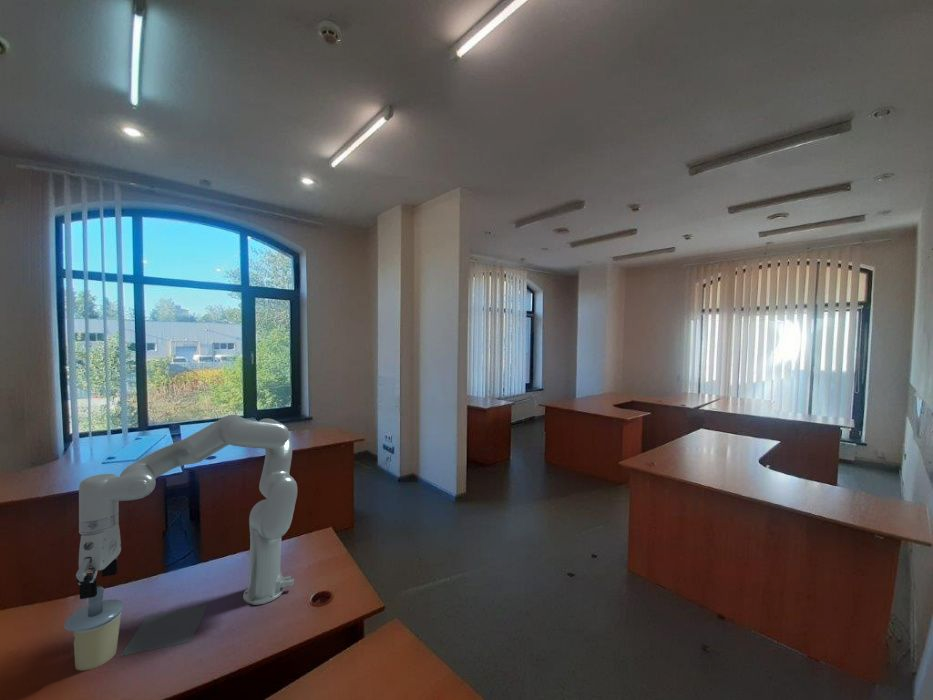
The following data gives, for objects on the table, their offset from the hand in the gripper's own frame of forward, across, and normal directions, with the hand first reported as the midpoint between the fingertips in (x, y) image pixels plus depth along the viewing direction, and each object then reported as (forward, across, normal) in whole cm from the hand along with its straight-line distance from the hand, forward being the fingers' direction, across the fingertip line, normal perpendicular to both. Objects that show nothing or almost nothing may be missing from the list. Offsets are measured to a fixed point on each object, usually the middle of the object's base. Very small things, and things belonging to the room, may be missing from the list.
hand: (99, 585), depth 99 cm
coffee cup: (+20, 0, +1) cm, 20 cm away
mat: (+20, +6, -13) cm, 25 cm away
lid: (+8, 0, +1) cm, 8 cm away
